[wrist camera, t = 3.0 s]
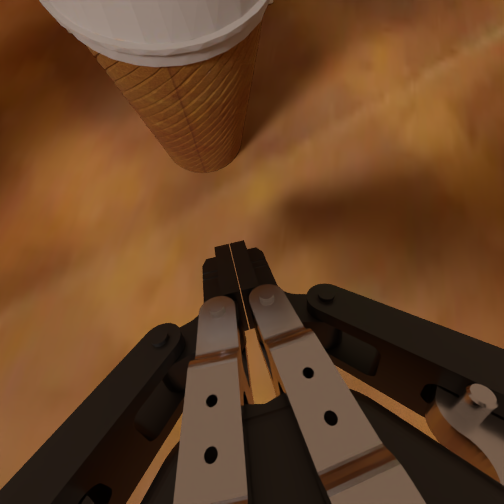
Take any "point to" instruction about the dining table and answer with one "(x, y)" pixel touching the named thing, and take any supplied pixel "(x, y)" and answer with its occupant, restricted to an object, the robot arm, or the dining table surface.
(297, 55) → the dining table surface
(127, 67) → the disposable coffee cup
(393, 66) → the dining table surface
